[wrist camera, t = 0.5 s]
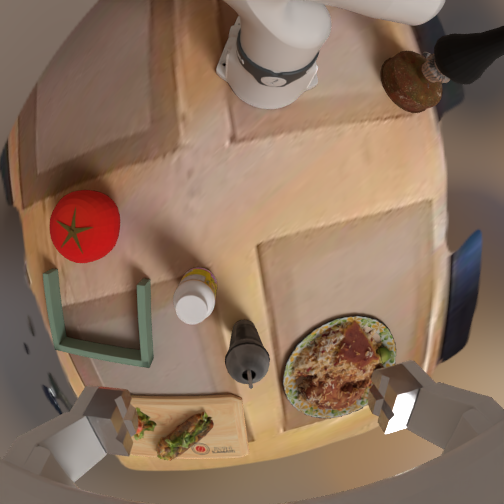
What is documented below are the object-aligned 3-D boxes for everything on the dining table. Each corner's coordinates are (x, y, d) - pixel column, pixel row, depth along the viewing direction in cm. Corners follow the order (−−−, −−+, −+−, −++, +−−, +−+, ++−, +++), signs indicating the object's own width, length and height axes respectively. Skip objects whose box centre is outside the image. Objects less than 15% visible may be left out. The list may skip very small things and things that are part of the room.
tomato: (71, 258, 51) (44, 271, 40) (64, 195, 48) (34, 197, 38) (133, 253, 52) (112, 267, 41) (126, 185, 49) (103, 184, 39)
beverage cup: (226, 346, 57) (226, 412, 37) (224, 313, 55) (222, 374, 36) (262, 344, 57) (276, 410, 38) (262, 312, 56) (278, 371, 36)
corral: (52, 268, 51) (42, 273, 47) (150, 279, 53) (144, 285, 49) (62, 341, 54) (54, 349, 50) (153, 357, 56) (149, 367, 52)
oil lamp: (419, 122, 53) (577, 142, 17) (369, 97, 49) (554, 91, 13) (424, 71, 49) (571, 66, 13) (376, 43, 45) (538, 5, 8)
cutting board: (128, 450, 63) (122, 468, 56) (100, 391, 58) (89, 409, 51) (249, 452, 65) (251, 472, 58) (241, 391, 60) (242, 413, 53)
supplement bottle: (215, 302, 55) (212, 333, 42) (181, 298, 54) (168, 328, 41) (218, 267, 53) (215, 291, 41) (183, 264, 53) (169, 286, 40)
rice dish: (296, 307, 57) (301, 318, 52) (408, 316, 59) (420, 326, 54) (271, 410, 63) (273, 425, 58) (372, 409, 64) (379, 422, 59)
